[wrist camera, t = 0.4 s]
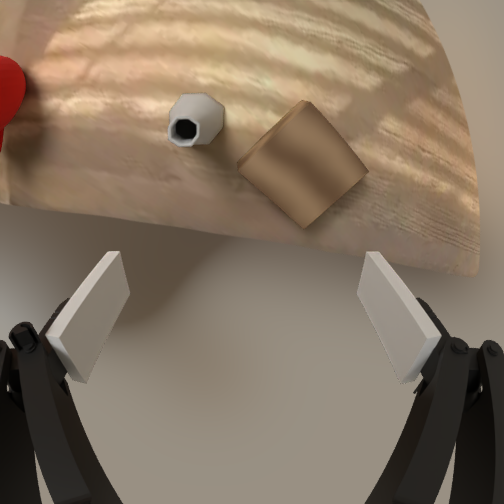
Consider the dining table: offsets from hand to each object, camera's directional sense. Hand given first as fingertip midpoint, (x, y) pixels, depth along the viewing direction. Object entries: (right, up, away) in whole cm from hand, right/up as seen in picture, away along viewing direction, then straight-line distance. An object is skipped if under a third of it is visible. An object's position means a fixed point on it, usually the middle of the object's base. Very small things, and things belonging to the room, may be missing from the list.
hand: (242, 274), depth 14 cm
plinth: (+7, +13, +21) cm, 26 cm away
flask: (-7, +18, +17) cm, 26 cm away
